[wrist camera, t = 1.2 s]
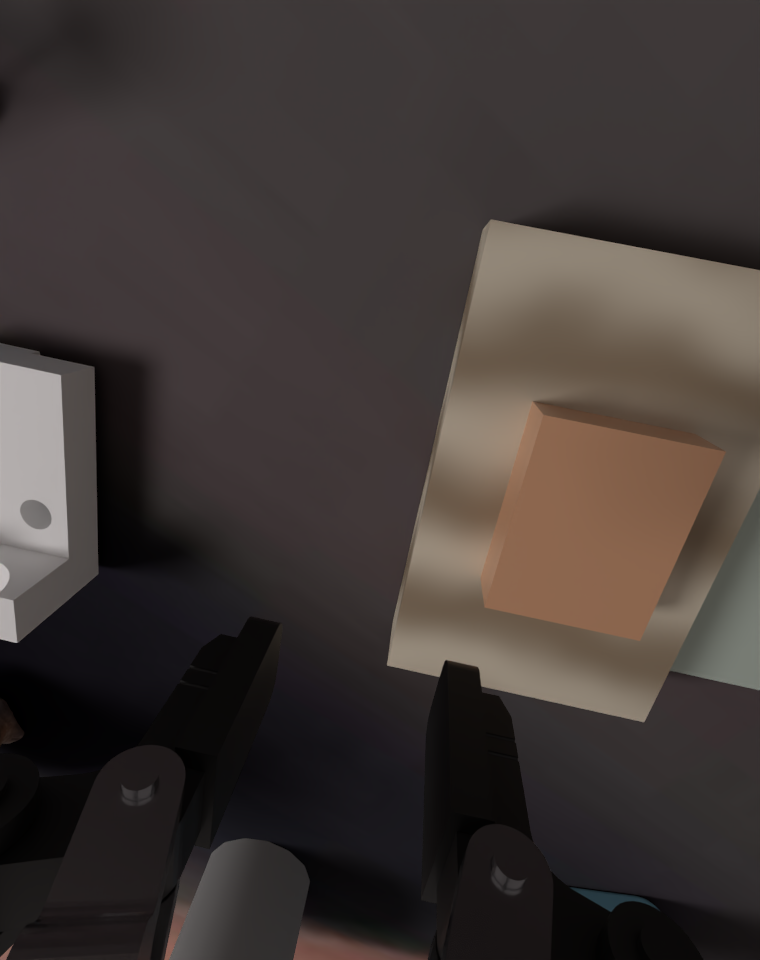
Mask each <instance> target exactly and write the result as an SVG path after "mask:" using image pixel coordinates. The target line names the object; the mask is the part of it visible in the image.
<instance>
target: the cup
mask: <svg viewBox="0 0 760 960" xmlns="http://www.w3.org/2000/svg"><path fill="white" fill-rule="evenodd" d="M309 884H310V880H309V877H308V874H307V871H306V869H305V866H304V865H303V864H302V863H301V862H300V861H299V860H298V859H297V858H296V857H295V856H294V855H293V854H292V853H291V852H290V851H288V850H286V849H284V848H282V847H279V846H277V845H275V844H273V843H271V842H268V841H262V840H255V839H247V838H243V839H238V840H234V841H229V842H224V843H223V844H222V845H221V846H220V847H218V848H217V849H216V850H215V851H214V852H212V854H211V857H210V859H209V862H208V864H207V867H206V869H205V872H204V874H203V877H202V879H201V882H200V884H199V887H198V889H197V892H196V894H195V897H194V899H193V902H192V904H191V907H190V909H189V912H188V914H187V917H186V919H185V922H184V924H183V927H182V929H181V932H180V934H179V937H178V939H177V942H176V944H175V947H174V949H173V952H172V954H171V957H170V959H169V960H293V958H294V953H295V949H296V944H297V939H298V935H299V930H300V925H301V921H302V916H303V912H304V907H305V902H306V898H307V893H308V888H309Z"/></svg>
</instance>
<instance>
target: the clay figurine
mask: <svg viewBox="0 0 760 960" xmlns="http://www.w3.org/2000/svg"><path fill="white" fill-rule="evenodd" d="M23 735H24V731H23V729H22V728H21V727H20V726H19V724H18V723H17V721H16V719H15V717H14V716H13V712H12V711H11V710H10V708H9V706H8V704H7V702H6V701H5V700H3V699H2V698H0V746H1V744H9V743H12V742H15V741H17V740H19V739H21V738H22V737H23Z"/></svg>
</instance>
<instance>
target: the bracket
mask: <svg viewBox="0 0 760 960" xmlns="http://www.w3.org/2000/svg"><path fill="white" fill-rule="evenodd" d="M97 575H98V528H97V475H96V421H95V368H94V367H92V366H88V365H83V364H78V363H74V362H69V361H64V360H60V359H55V358H51V357H46V356H41V355H40V352H39V351H35V350H30V349H25V348H21V347H16V346H11V345H7V344H2V343H0V639H2V640H6V641H11V642H15V643H18V642H19V641H20V640H21V639H23V638H24V637H25V636H26V635H27V634H29V633H30V632H31V631H32V630H33V629H34V628H36V627H37V626H38V625H39V624H40V623H41V622H43V621H44V620H45V619H46V618H47V617H48V616H50V615H51V614H52V613H53V612H54V611H55V610H57V609H58V608H59V607H60V606H61V605H63V604H64V603H65V602H66V601H67V600H68V599H70V598H71V597H72V596H73V595H74V594H75V593H77V592H78V591H79V590H80V589H81V588H82V587H84V586H85V585H86V584H87V583H88V582H89V581H91V580H92V579H93V578H94V577H95V576H97Z"/></svg>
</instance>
